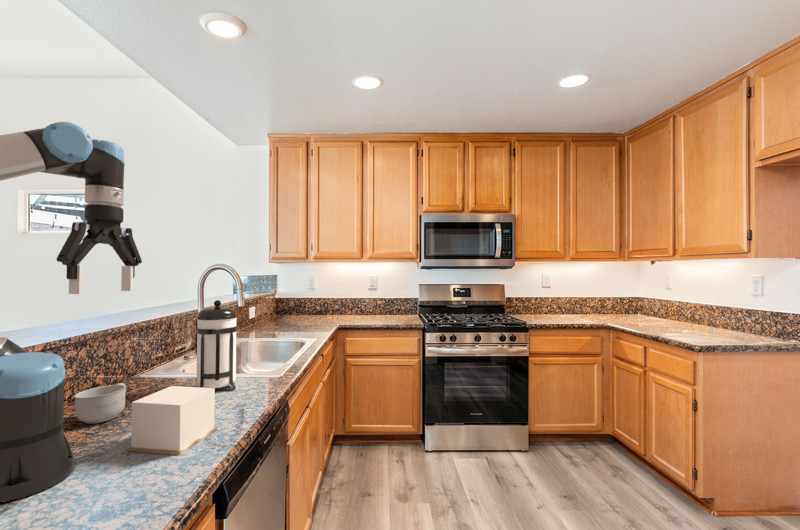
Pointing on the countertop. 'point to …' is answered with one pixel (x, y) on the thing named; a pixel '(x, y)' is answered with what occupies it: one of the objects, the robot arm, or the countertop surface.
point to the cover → (172, 417)
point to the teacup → (100, 403)
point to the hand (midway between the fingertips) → (103, 292)
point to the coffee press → (216, 347)
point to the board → (171, 450)
